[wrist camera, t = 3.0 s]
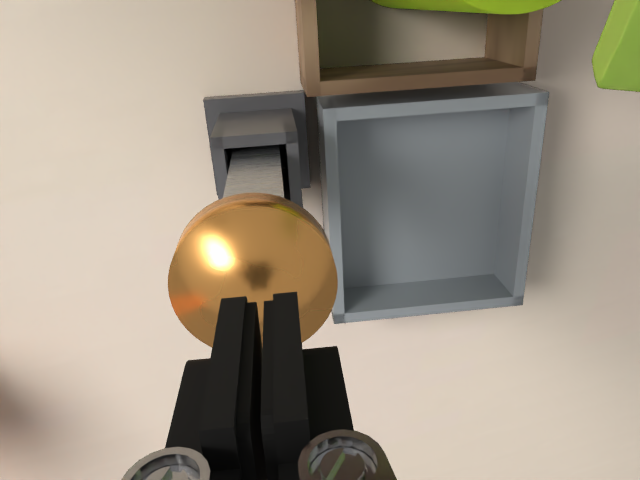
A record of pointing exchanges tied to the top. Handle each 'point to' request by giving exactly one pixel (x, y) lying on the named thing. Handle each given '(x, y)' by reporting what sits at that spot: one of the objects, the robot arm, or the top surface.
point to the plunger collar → (260, 134)
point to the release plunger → (252, 250)
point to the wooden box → (496, 67)
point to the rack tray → (430, 197)
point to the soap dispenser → (611, 51)
